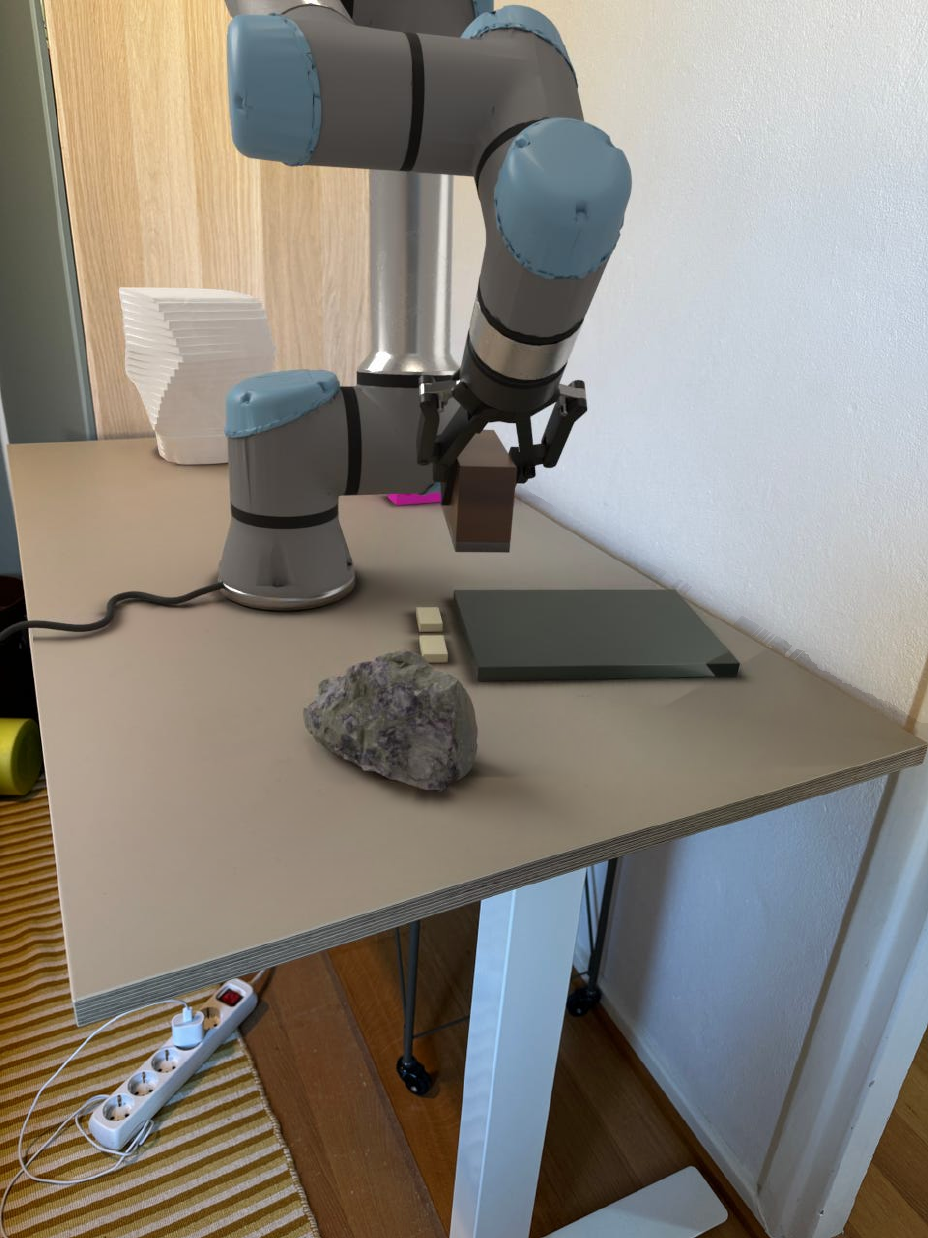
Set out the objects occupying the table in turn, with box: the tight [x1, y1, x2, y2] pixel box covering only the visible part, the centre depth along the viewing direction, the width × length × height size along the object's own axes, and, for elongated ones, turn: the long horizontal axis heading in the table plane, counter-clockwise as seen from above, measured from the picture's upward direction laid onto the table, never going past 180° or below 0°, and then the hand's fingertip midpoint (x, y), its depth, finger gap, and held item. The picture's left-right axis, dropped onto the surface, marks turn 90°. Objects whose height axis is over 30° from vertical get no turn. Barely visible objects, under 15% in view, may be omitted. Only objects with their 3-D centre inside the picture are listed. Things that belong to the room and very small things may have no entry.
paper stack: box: [118, 286, 277, 466], centre depth 141 cm, size 21×27×26 cm
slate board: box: [452, 588, 741, 682], centre depth 91 cm, size 18×26×2 cm
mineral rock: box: [302, 649, 479, 793], centre depth 68 cm, size 13×11×10 cm
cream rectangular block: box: [415, 606, 443, 633], centre depth 92 cm, size 4×2×1 cm, turn 8°
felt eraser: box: [440, 429, 517, 554], centre depth 83 cm, size 13×5×8 cm, turn 7°
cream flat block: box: [418, 634, 449, 664], centre depth 86 cm, size 4×2×1 cm, turn 8°
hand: (474, 493), depth 84 cm, fingers closed on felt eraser, 5 cm apart
